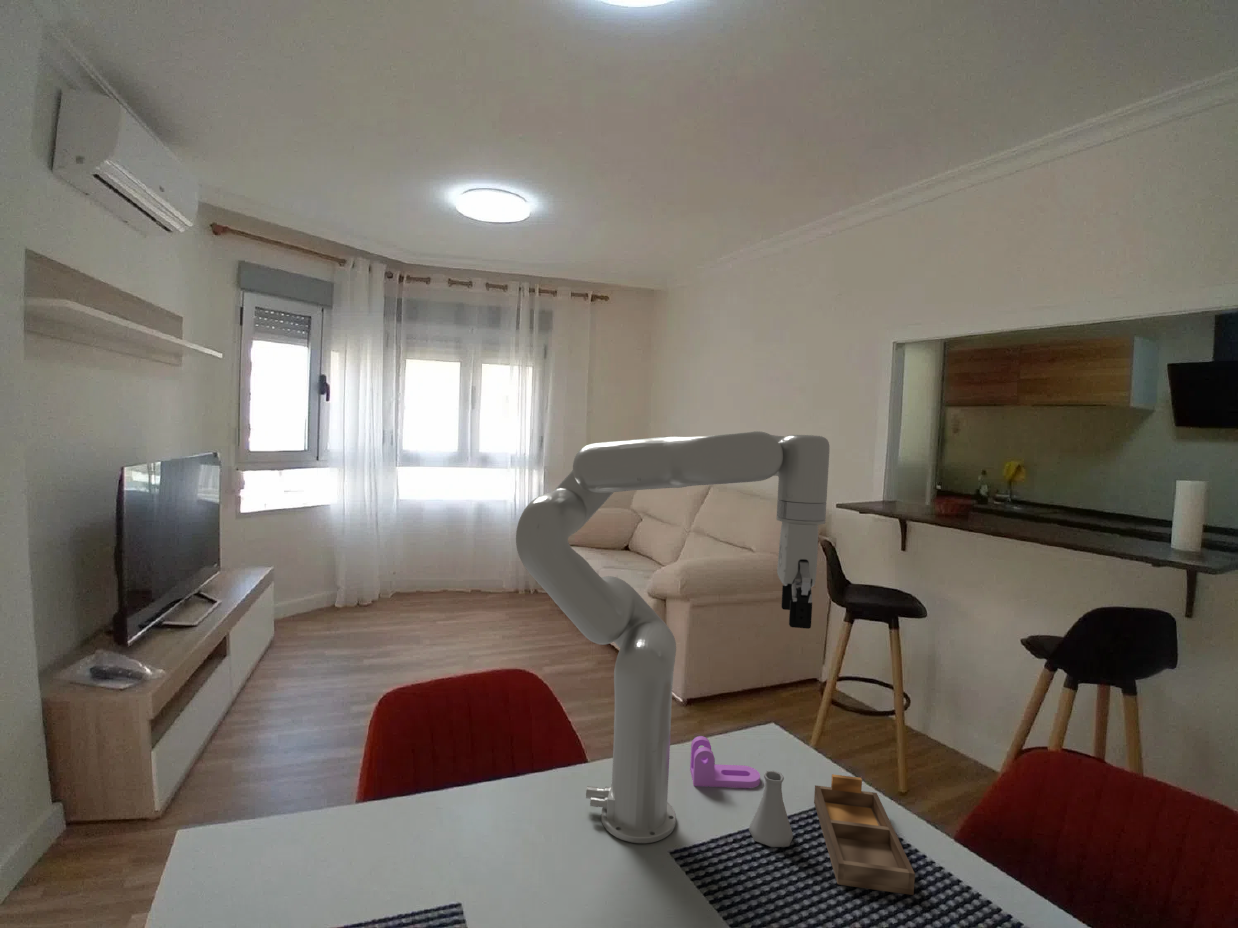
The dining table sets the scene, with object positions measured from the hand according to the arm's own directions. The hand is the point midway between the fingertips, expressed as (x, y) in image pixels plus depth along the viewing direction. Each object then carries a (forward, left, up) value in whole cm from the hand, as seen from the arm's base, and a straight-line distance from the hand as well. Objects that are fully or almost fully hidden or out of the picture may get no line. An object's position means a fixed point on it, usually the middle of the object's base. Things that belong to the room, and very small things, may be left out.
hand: (795, 617), depth 97 cm
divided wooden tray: (+12, +2, -37) cm, 39 cm away
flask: (-2, +1, -37) cm, 37 cm away
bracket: (-9, +16, -37) cm, 41 cm away
